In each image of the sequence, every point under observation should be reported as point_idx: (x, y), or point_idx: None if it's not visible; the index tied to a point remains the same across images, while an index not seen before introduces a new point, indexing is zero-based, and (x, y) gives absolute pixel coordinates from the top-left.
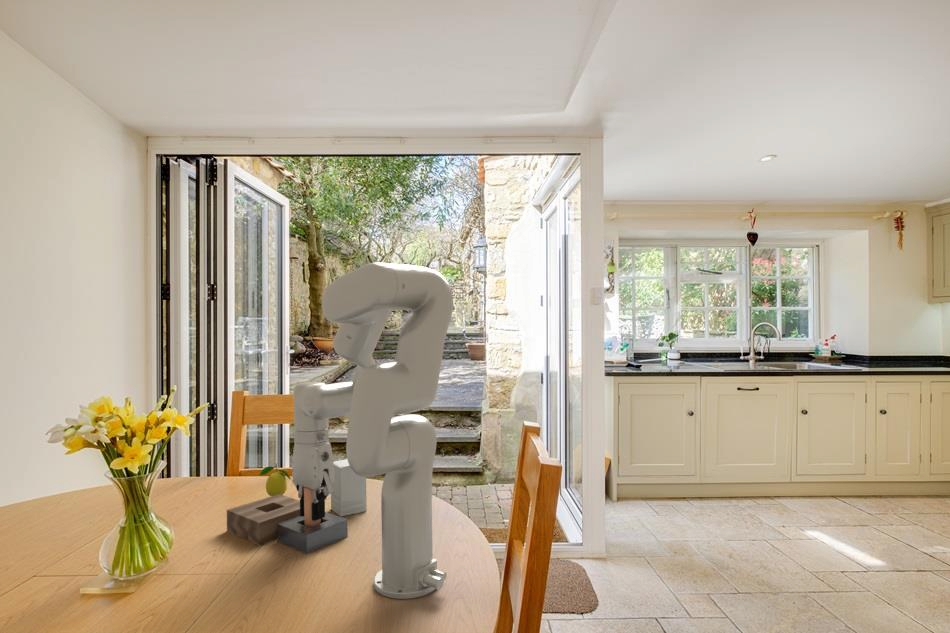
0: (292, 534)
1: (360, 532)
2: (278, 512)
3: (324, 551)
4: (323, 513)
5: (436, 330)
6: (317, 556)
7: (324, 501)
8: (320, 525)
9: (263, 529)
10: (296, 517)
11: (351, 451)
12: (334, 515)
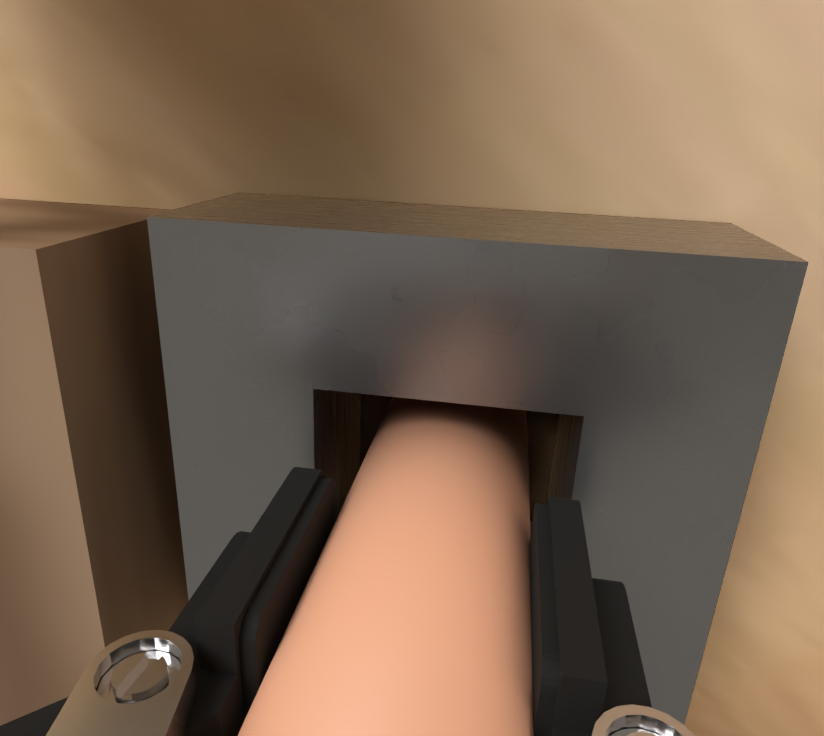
0: None
1: (796, 44)
2: (8, 599)
3: (745, 546)
4: (622, 590)
5: None
6: (756, 625)
7: (602, 658)
8: (614, 558)
9: None
10: (189, 510)
11: None
12: (521, 255)
